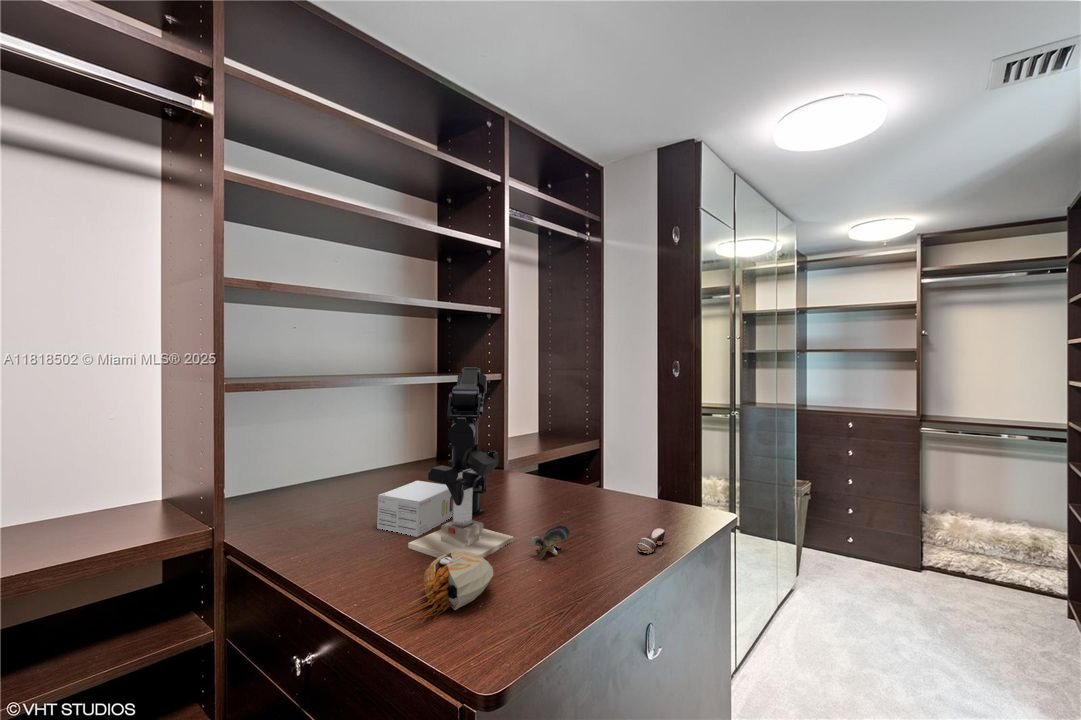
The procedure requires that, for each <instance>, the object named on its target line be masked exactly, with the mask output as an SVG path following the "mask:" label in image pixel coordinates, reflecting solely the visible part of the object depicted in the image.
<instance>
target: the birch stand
mask: <svg viewBox="0 0 1081 720" xmlns="http://www.w3.org/2000/svg"><path fill="white" fill-rule="evenodd" d="M511 542H512V543H514V536H512V535H509V534H505V533H501V532H497V531H493V530H490V529H487V528H484V523H483V522H481V521H476V520H473V519H472V525H471V526H468V527H466V528H464V529H462V528H459V527H455V526H453V520H451V521H449V522H446V523H444V524H442V525H441V524H440V529H439V530H437V531H434V532H432V533H429V534H427V535H424V536H422V537H419V538H417V539H415V540H412V541H410V542H408V543H407V545H408V546H407V547H408V549H410V550H413V551H416V552H419V553H421V554H425V555H428V556H431V557H434V558H436V559H437V558H438V557H440V556H442V555H444V554H447V553H450V552H453V551H464V552H470V553H473V554H476V555H479V556H481V557H483V558H484V559H485V557H488V556H489V555H492V554H493V553H495V552H497V551H499V550H501V549H502V548H504V547H506V546H508V545H510V544H511ZM509 543H510V544H509ZM507 544H508V545H507ZM505 545H506V546H505ZM500 548H501V549H500Z"/></svg>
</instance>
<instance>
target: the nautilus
mask: <svg viewBox="0 0 1081 720" xmlns="http://www.w3.org/2000/svg"><path fill="white" fill-rule="evenodd" d="M493 576H494V568H493V566H492V564H491V563H489V561H488V560H486V559H485V557H484V558H483V557H481V556H479V555H476V554H473V553H470V552H464V551H453V552H450V553H447V554H444V555H442V556H440V557H438V558H436V559H434V560H433V561H432V562H431V563H430V565H429V566H428V568H427V569H426V570H425V572H424V574H423V582H422V583H420V584H419V585H416V586H414V587H412V588H410V589H409V590H413V589H415V588H418V587H419V586H422V585H423V586H424V587H423V588H421V589H419V590H417V591H415V592H414V594H416V593H419V592H423V591H424V592H425V595H422V596H421V597H419V598H418V599H415V600H414V601H412V602H410V603H409V604H407V605H408V606H409V605H411V604H413V603H415V602H418V601H419V600H421V599H423V598H425V597H426V598H427V599H428V600H427V602H423V604H421V605H419V606H418V607H415V608H414V609H412V610H410V611H407V612H404V613H403V614H404V615H406V614H408V615H409V614H411V613H415V612H418V611H419V610H422V609H424V608H425V607H428V606H430V605H433V606H432V607H431V608H429V609H427V610H426V611H424V612H422V613H419V614H417V615H416V617H411V619H412V620H411V621H408V622H406V624H410V623H413V622H415V621H417V620H419V619H423V620H422V621H421V622H420V624H423V622H424V621H425V620H426V619H427V618H429V617H432V616H435V615H436V616H435V617H434V619H433V620H432V622H435V620H436V618H437V617H438V616H439V615H440V614H441V613H444V612H445V611H446V610H447V609H448V608H452V609H453V610H454V611H456V610H458V609H460V608H462V607H463V606H465V605H467V604H469V603H471V602H473V601H474V600H475V599H477V597H479V596H480V595H481V594H482V593H483V592H484V590H485V589H486V588H487V586H488V585H489V583H490V581H491V579H492V578H493ZM439 605H440V606H439ZM438 606H439V607H438ZM418 616H419V617H418Z"/></svg>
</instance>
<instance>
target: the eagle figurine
mask: <svg viewBox="0 0 1081 720" xmlns="http://www.w3.org/2000/svg"><path fill="white" fill-rule="evenodd" d="M570 533H571V531H569V528H568V527H567V526H566V525H562V524H561V525H556V526H554V527H552V528H550V529H548V530H546V532H545V535H544V537H543V538H541V537H540V536H539V535H536V536H533V537H532V538H530V541H529V543H530V544H531V545H532V546H537V547H539V549H535V552H539V554H540V555H539V560H540V559H541V560H542V559H543V558H544V557H545V556H546V553H547V551H548V552H549V553H552V554H553V555H554V556H556V555H558V551H557V550H556V547H557V549H560V548H561V547H559V546H557V544H556V543H558V542H561V541H564V540H567V539H568V538H569V536H570Z"/></svg>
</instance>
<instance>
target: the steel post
mask: <svg viewBox="0 0 1081 720" xmlns="http://www.w3.org/2000/svg"><path fill="white" fill-rule="evenodd" d="M472 494H473V487H468V486H464V485H462V494H461V503H460V506H457V505H456V504H455V502H454V501H453V517H452V521H453V526H455V527H459V528H462V529H464V528H466V527H468V526H471V525H472V520H473V516H472Z"/></svg>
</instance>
